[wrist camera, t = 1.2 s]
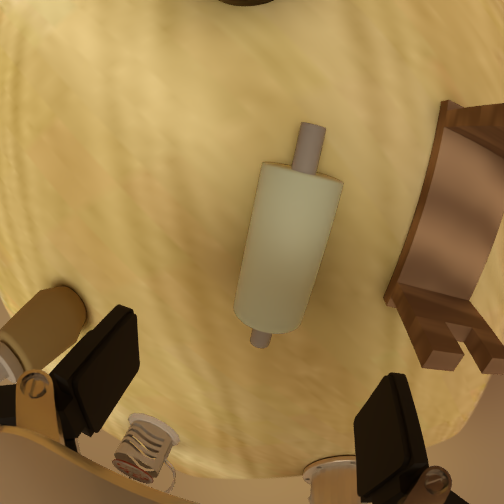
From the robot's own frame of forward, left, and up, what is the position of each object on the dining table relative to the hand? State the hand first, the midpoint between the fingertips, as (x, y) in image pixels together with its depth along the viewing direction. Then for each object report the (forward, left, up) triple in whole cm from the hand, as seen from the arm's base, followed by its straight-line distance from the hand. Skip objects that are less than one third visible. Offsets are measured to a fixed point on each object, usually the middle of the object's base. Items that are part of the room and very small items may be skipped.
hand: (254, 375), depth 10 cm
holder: (+6, -15, -17) cm, 23 cm away
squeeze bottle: (-16, +25, -17) cm, 34 cm away
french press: (-39, +12, -17) cm, 44 cm away
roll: (0, 0, -14) cm, 14 cm away
